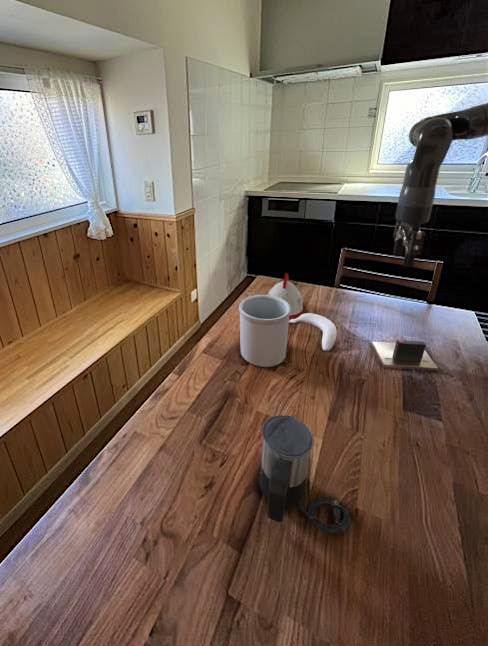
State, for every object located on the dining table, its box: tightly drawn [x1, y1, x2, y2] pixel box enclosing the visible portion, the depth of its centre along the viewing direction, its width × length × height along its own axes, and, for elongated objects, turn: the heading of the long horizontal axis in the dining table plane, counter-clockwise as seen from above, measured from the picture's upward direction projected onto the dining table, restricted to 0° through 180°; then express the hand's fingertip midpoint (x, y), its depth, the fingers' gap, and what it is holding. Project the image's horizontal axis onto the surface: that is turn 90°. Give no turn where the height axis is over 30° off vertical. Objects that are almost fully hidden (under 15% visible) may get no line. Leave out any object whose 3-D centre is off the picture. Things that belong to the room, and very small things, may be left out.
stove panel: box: [370, 341, 439, 373], centre depth 99 cm, size 14×14×2 cm
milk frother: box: [259, 414, 352, 535], centre depth 62 cm, size 14×16×15 cm
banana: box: [289, 312, 338, 352], centre depth 113 cm, size 5×19×15 cm
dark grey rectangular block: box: [393, 339, 427, 362], centre depth 96 cm, size 7×2×6 cm, turn 80°
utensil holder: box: [238, 294, 291, 368], centre depth 102 cm, size 15×15×18 cm
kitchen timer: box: [266, 272, 304, 320], centre depth 126 cm, size 14×14×15 cm
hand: (402, 260), depth 93 cm, fingers open, 8 cm apart
